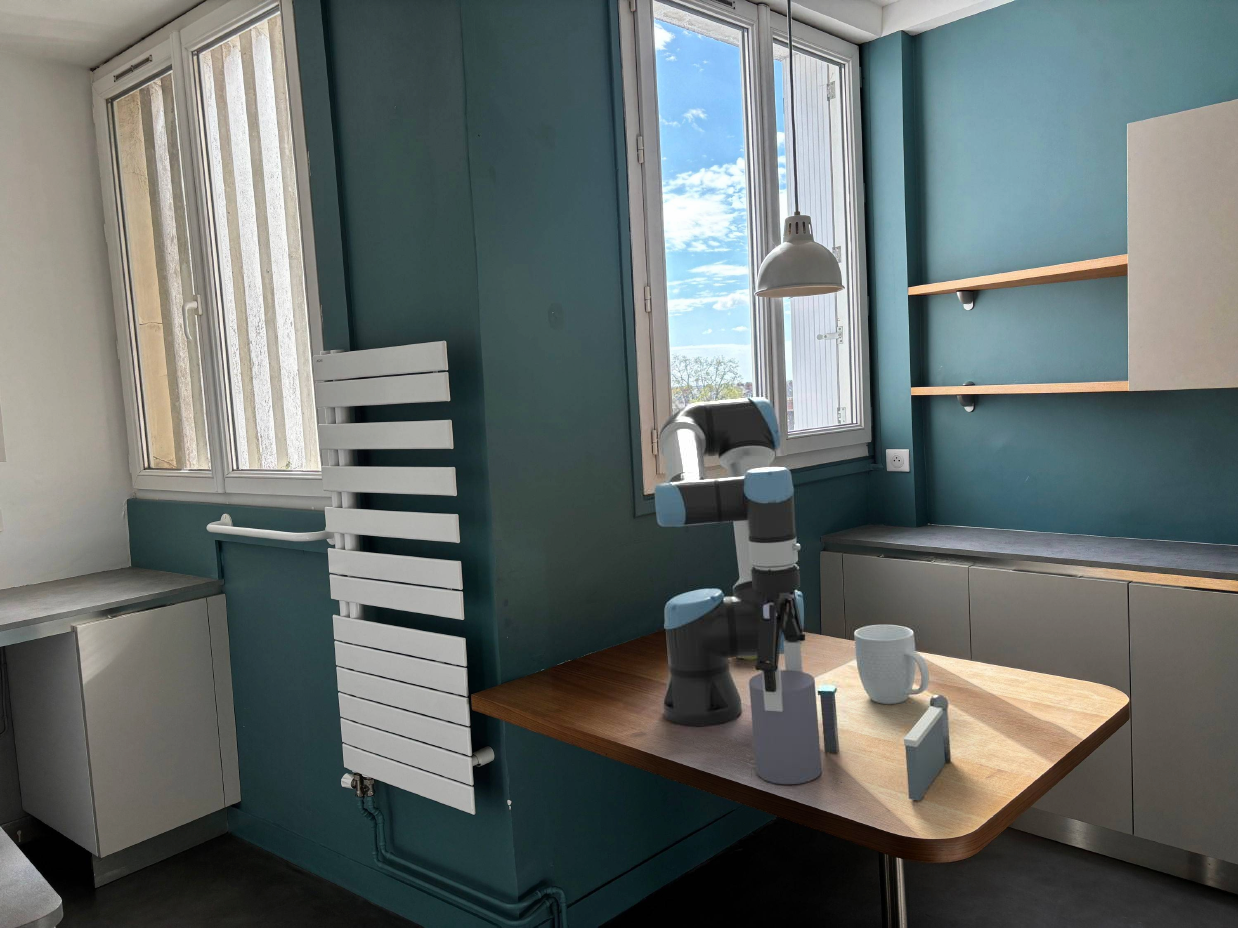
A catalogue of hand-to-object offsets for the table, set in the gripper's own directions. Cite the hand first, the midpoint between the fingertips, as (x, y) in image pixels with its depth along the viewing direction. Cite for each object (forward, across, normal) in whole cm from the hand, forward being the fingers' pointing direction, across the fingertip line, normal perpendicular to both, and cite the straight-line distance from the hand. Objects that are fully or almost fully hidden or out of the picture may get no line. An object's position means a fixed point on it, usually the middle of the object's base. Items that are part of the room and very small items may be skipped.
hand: (784, 694), depth 139 cm
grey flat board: (+12, -1, -21) cm, 24 cm away
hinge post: (+12, +8, -23) cm, 27 cm away
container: (+12, -2, 0) cm, 12 cm away
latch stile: (+12, +8, -5) cm, 15 cm away
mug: (+13, +34, -12) cm, 38 cm away
